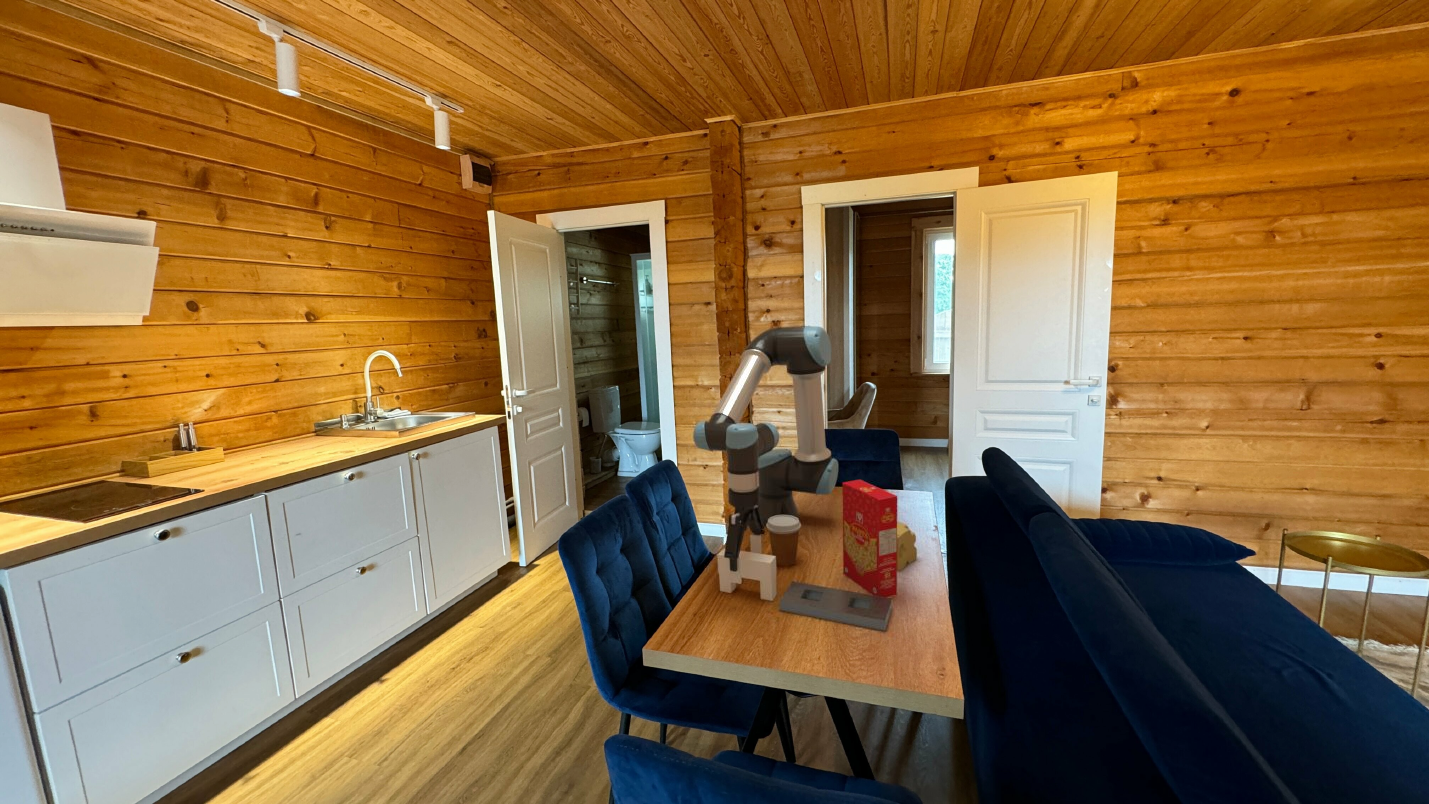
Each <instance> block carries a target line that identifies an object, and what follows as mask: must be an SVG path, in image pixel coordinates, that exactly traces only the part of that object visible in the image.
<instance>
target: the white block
mask: <svg viewBox="0 0 1429 804" xmlns="http://www.w3.org/2000/svg"><path fill="white" fill-rule="evenodd" d="M724 553H725V547H724V548H723V549H721V551H720V552H719V553H717V554H716V555H717V556H716V557H717V572H718V575H719V576H718V577H719V578H718V580H719V591H720V592H724V593H728V594H729V593H730V594H731V593H732V592H733V591H734V590H735V589H736V585H737V583H733V582H730V571H729V558H725V557H724ZM739 556H740V557H741V579H742V578H743V579H750V580H754V581H758V582H759V584H760V585H759V586H760V589H759V590H760V600H765V601H772V602H773V601H774V600H775V598H776V596H777V564H776V556H773V555H772V554H765V553H762V554H758V553H752V552H751V551H744V550H740V553H739Z"/></svg>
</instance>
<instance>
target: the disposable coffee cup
mask: <svg viewBox="0 0 1429 804" xmlns="http://www.w3.org/2000/svg"><path fill="white" fill-rule="evenodd" d="M765 526H766V528H767V530H768V536H769V542H770V548H771V556H776V566H777V565H778V566H780V567H789V566H790V567H791V566H792V565H795V564H796V562H797V556H798V555H797V553H798V543H799V535H800V529H801V527H802V523H801V522H800V520H799V517H798V518H796V517H794V516H790V515H776V516H773V517H770V518H769V519H768V523H767V524H766V525H765Z"/></svg>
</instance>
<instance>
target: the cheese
mask: <svg viewBox="0 0 1429 804" xmlns="http://www.w3.org/2000/svg"><path fill="white" fill-rule="evenodd" d="M916 541H917V538H916V533H915V532H913V531H911V530H910V528H909V526H908V525H907V524H905V523H903V522H900V521H898V520H897V572H900V571H901V570H903V569H904V568H905V567H906V565H907V564H911V563H912V562H914V561H916V560H917V556H918V549H917V547H916V546H915V544H916Z"/></svg>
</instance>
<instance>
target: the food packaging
mask: <svg viewBox="0 0 1429 804" xmlns="http://www.w3.org/2000/svg"><path fill="white" fill-rule="evenodd" d="M841 488H842V491H841V492H842V551H843V552H842V558H843V559H842V563H843V565H842V567H843V569H842V571H843V575H844V576H846V577H847V578H849V579H851V581H853V582H854V583H855V584H857V585H858V586H859V587H861V588H862V589H864V590H865V591H867V592H868V593H869V594H870V595H875V596H881V597H887V598H891V597H893V596H896V595H898V594H897V593H898V592H897V591H898V590H897V589H898V588H897V587H898V574H897V573H898V571H897V521H898V495H896V494H894V493H892V492H889V491H887V490H884V489H882V488H880V487H877V486H876V485H873V484H871V483H868V482H866V481H864V480H863V479H855V480H850V481H845V482H842V487H841Z"/></svg>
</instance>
